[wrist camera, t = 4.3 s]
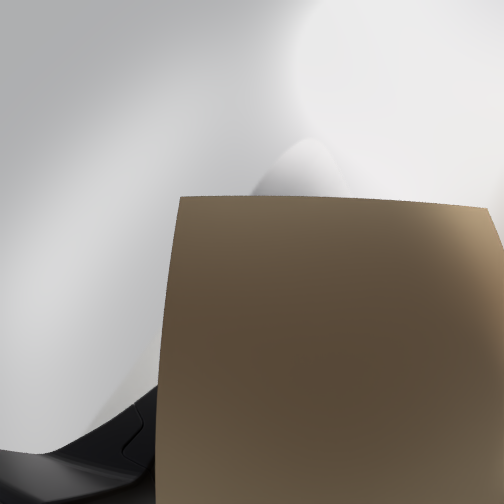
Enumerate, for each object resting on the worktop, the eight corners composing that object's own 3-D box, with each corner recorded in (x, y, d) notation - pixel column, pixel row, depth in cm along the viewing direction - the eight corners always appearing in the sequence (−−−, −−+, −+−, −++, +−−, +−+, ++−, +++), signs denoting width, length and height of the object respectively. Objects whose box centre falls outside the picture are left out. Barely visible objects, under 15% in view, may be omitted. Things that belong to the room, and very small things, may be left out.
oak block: (334, 454, 12) (533, 500, 2) (230, 459, 12) (162, 584, 2) (330, 361, 15) (487, 208, 4) (231, 363, 15) (180, 196, 4)
